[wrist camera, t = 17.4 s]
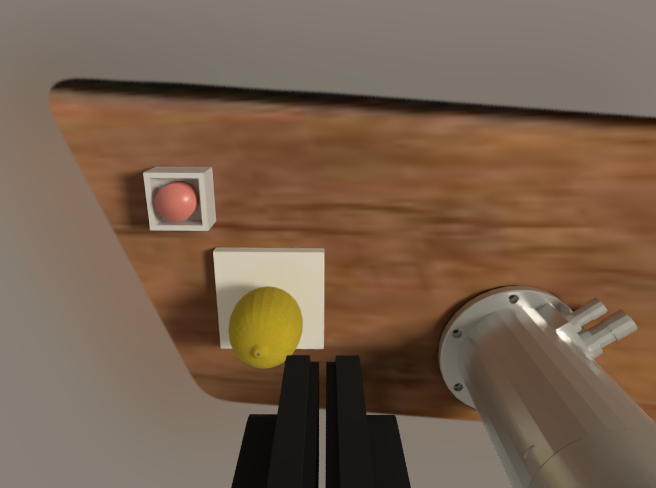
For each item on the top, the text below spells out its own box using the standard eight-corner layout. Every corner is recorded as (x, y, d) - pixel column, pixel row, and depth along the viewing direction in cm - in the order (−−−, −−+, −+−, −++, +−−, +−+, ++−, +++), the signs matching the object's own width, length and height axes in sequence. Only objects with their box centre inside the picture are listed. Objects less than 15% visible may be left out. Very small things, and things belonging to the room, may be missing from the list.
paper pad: (324, 248, 38) (324, 252, 37) (323, 342, 41) (323, 349, 40) (215, 247, 38) (213, 251, 37) (223, 342, 41) (220, 348, 40)
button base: (212, 166, 36) (203, 172, 33) (216, 221, 37) (208, 230, 35) (155, 166, 36) (143, 172, 33) (162, 220, 37) (150, 230, 35)
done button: (197, 180, 35) (191, 185, 33) (200, 216, 36) (194, 222, 34) (160, 180, 35) (153, 184, 33) (164, 216, 36) (157, 221, 34)
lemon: (263, 259, 37) (246, 302, 30) (318, 295, 38) (315, 347, 31) (226, 308, 39) (202, 362, 31) (280, 342, 40) (270, 402, 32)
